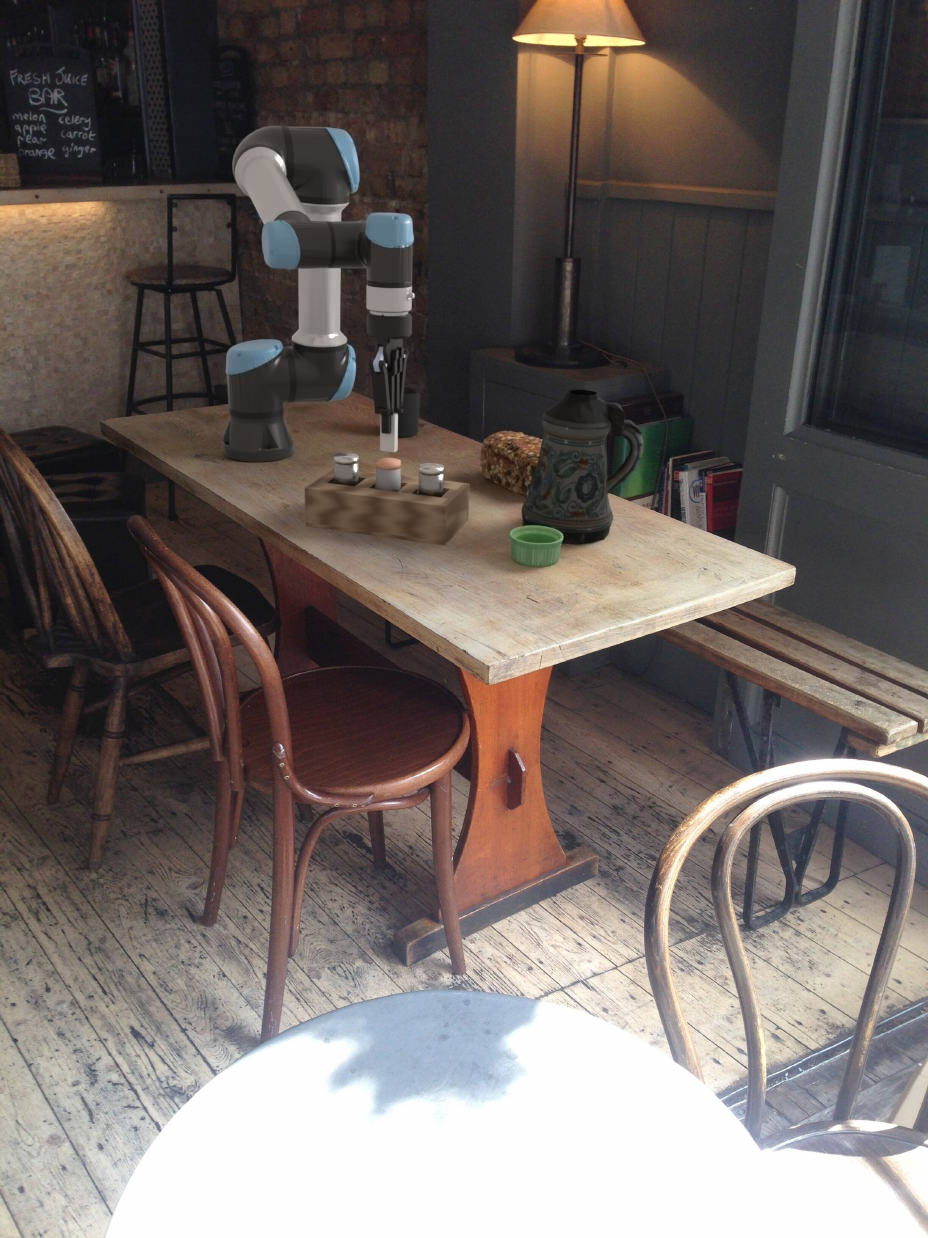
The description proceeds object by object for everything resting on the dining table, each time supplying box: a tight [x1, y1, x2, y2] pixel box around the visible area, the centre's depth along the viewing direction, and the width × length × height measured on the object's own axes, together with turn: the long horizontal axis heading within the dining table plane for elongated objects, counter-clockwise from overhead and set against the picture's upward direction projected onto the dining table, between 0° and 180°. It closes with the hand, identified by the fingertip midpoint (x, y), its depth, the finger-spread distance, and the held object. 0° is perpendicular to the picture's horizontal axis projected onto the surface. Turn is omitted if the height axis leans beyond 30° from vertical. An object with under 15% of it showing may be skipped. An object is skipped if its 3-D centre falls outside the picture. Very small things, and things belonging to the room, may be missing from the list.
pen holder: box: [397, 385, 421, 439], centre depth 253 cm, size 9×9×10 cm
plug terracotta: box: [375, 457, 402, 492], centre depth 194 cm, size 4×4×6 cm
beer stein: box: [520, 389, 644, 546], centre depth 193 cm, size 16×19×25 cm
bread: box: [480, 429, 543, 497], centre depth 219 cm, size 19×11×10 cm, turn 35°
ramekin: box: [509, 525, 563, 568], centre depth 183 cm, size 9×9×4 cm
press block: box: [304, 468, 471, 546], centre depth 196 cm, size 26×14×7 cm, turn 73°
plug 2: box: [418, 462, 445, 498], centre depth 192 cm, size 4×4×6 cm
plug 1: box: [333, 452, 360, 486], centre depth 196 cm, size 4×4×6 cm
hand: (388, 450), depth 192 cm, fingers closed
